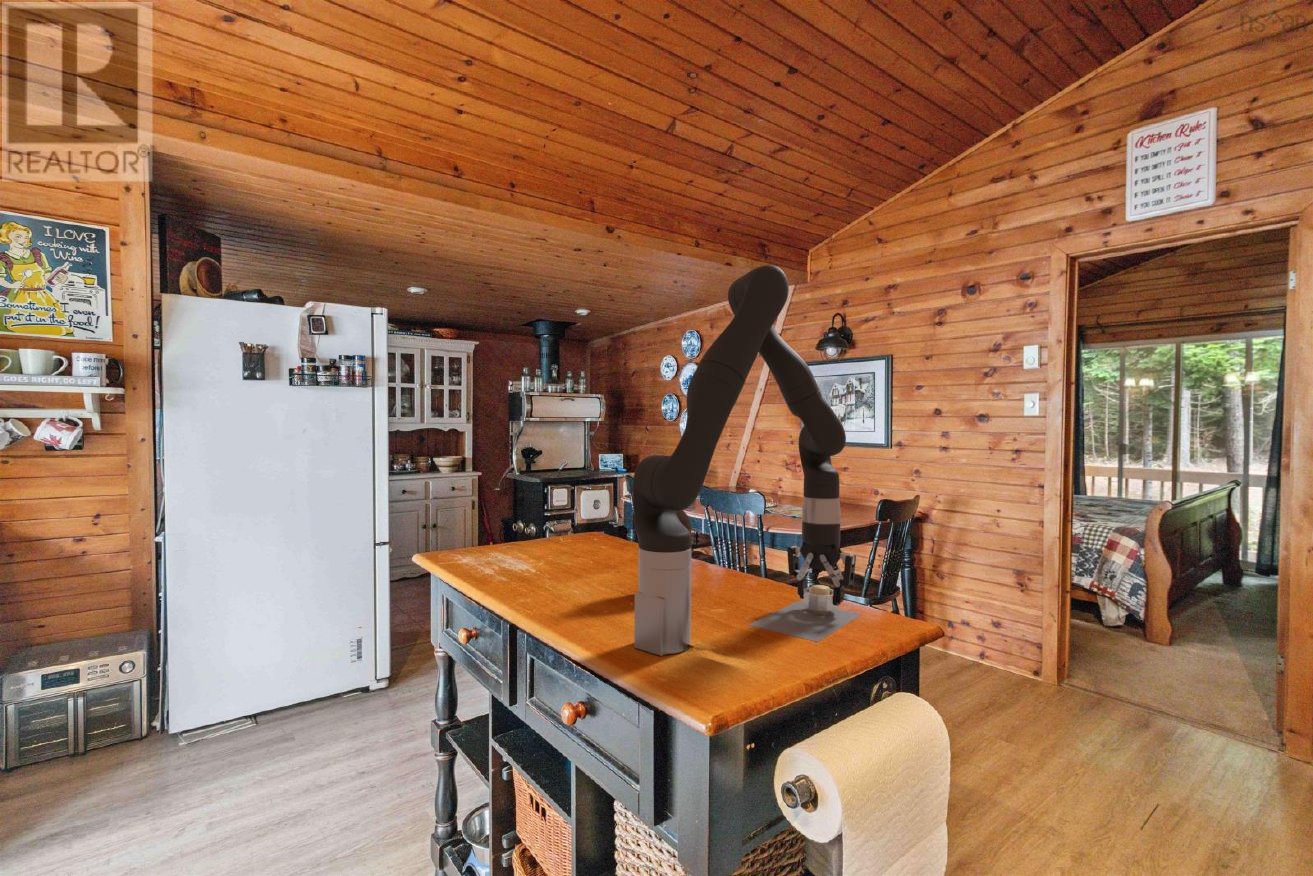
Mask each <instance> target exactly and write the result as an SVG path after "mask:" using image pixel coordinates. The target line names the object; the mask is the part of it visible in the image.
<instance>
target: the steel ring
mask: <svg viewBox="0 0 1313 876" xmlns="http://www.w3.org/2000/svg"><path fill="white" fill-rule="evenodd" d="M802 601H803V605H804V607H806V608H808V609H811V610H816V611H832V610H835V609H839V608H838V607H839V605H838V606H835V605H833V589H832V588H830V595H816V594H811V587H810V586H809V587H808V588H806V589H803V599H802Z"/></svg>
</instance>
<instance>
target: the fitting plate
mask: <svg viewBox="0 0 1313 876" xmlns="http://www.w3.org/2000/svg"><path fill="white" fill-rule="evenodd" d="M830 589H831V588H830V587H829V586H826V585H822V584H813V585H811V594H816V595H830ZM862 615H863V613H861V612H855V611H851V610H846V609H842V608H837V609H835V610H832V611H816V610H811V609H808V608H806V607H804V605H803V600H802V601H801V600H797V601H794V602H793V603H791V604H788V605H786V606H784V607H782V608H780V609H778V610H776V611H774V612H771V613H770V614H768V615H765V616H763V617H761V618H759V619H757V620H754V621H753V622H751V623H748V624H747V625H748V626H751V627H755V628H759V629H761V630H762V629H763V630H767V631H771V632H775V633H778V634H783V635H787V636H792V637H796V638H800V639H804V640H807V641H811V642H816V643H818V642H820V641H822V640H823V639H824V638H826V637H829V636H830V635H832V634H833V633H834V632H836V631H838V630H839V629H841V628H843V627H844V626H846V625H847V624H849V623H850V622H852V621H854V620H855V619H857V618H858V617H860V616H862Z"/></svg>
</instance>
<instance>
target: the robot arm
mask: <svg viewBox="0 0 1313 876" xmlns="http://www.w3.org/2000/svg"><path fill="white" fill-rule="evenodd" d="M789 286H790V285H789V281H788V278H787V275H786V274H785V271H783V270H782V269H781V268H780V267H778V266H776V265H774V264H773V265H772V264H764V265H760V266H758V267H755V268H753V269H751V270H750V271H748V272H746V273H745V274H744V275H741V276H740V277H738V278H737V279H736V280H734V281H733V282H732V283H731V284H730V287H729V288H728V292H727V300H728V301H727V302H728V305H729V308H730V309H731V310H730V311H731V312H732V314H733V315H734V316H733V318H732V320H731V321H730V322H729V324H728V325H727V326H726V327H725V328H724V330H723V331H721V333H720V334H719V335H718V336H717V338H716V339H714V341H713V342H712V344H710V346H709V347H708V349H707V350H706V352H705V353H704V355H703V356H702V358H701V359H700V360H699V362H698V365H697V366H696V369H695V371H694V373H693V375H692V377H691V379H690V381H689V383H688V386H687V390H686V413H687V414H686V425H685V428H684V431H683V433H682V435H681V438H680V439H679V442H678V444H677V445H676V448H674V451H673V452H672V453H671V455H664V454H663V455H660V454H657V455H656V454H654V455H648V456H646V457H645V458H643V459H642V460H640V462H638V465H637V466H636V468H635V471H634V474H633V479H632V508H633V509H632V510H633V525H634V527H633V528H634V530H635V533H636V535H637V540H638V586H637V587H638V592H635V593H634V633H633V634H634V642H633V643H634V648H635V649H638V650H641V651H644V652H648V653H650V654H654V655H658V656H661V657H662V656H665V655H669V654H679V653H682V652H684V651H687V650H688V649H690V647H691V635H692V634H691V630H692V628H691V627H692V623H691V622H692V621H691V619H692V618H691V617H692V612H691V611H692V532H691V533H690V531H689V530H688V529H687V528H686V527H685V526H684V525H683V524H682V523H681V522H680V521H679V519H678V517H677V514H676V510H683V511H684V510H686V509H688V508H689V507H691V506H692V505H693V504H694V502H695V501H696V500H697V498H698V497H699V494H700V492H701V491H702V488H703V485H704V484H705V480H706V477H707V475H708V474H707V473H708V471H709V468H710V465H711V462H712V459H713V456H714V454H715V451H716V448H717V445H718V443H719V440H720V437H721V436H722V433H723V431H724V430H725V429H724V428H725V426H726V424H727V421H728V419H729V417H730V414H732V410H733V409H734V406H735V405H736V403H737V400H738V399H739V396H740V395H741V392H742V390H743V388H744V386H745V384H746V380H747V378H748V376H749V374H750V372H751V369H752V367H753V365H754V363H755V361H756V359H757V356H758V354H759V355H760V357H761V358H762V359H763V361H764V362H765V364H766V365H767V367H768V370H769V371H770V372H771V374H772V376H773V378H774V380H775V382H776V384H777V386H778V388H779V390H780V392H781V395H782V397H783V399H784V401H785V404H786V405H787V408H788V410H789V411H790V413H791V414H792V415H794V417H796V418H798V419H800V421H801V423H803V426H802V428H801V429H800V432H799V436H798V451H799V453H798V454H799V459H800V463H801V467H802V468H801V469H802V472H803V498H802V507H801V543H802V544H801V546H798V545H792V546H788V547H787V549H786V550H787V567H788V568H787V570H788V575H789V576H791V577H794V578H796V580H797V594H798V596H799V599H802V600H803V589H806V588H809V587H808V586H809V581H808V579H807V578H808V577H809V574H810V572H811V571H813V570H820V571H823V572H826V573H827V576H829V578H831V581H832V583H833V585H834V586H833V605H835V606H838V607H839V606H840V605H841V603H843V602H844V598H845V597H844V593H845V592H844V591H845V590H844V587H845V586H846V587H848V586H849V585H851V584H853V583H854V581H855V573H856V572H855V571H856V561H857V555H856V554H854V553H849V554H848V553H845V552H842V550H841V546H840V545H841V520H842V515H841V509H842V508H841V502H840V473H839V472H838V470H837V469H835V467H834V466H833V464H832V458H831V457H834V456H836V455H838V454H840V453H841V452H842V451H843V450H844V448H845V446H846V441H847V437H846V430H845V428H844V425H843V424H842V422H841V420H840V418H839V417H838V415H837V414H836V413H835V412H834V409H832V407H831V406H830V405H829V403H828V402H827V401H826V400H825V398H824V397H823V395H822V392H821V390H820V387H819V385H818V383H817V380H816V379H815V376H814V374H813V372H812V370H811V368H810V367H809V365H808V363H807V362H806V361H805V360H804V359H803V357H801V356H800V355H799V354H798V353H797V352H796V351H795V350H794V349H793V348H792V347H791V346H790V345H788V343H787V342H786V341H785V340H784V339H783V338H782V337H781V336H780V334H779V333H778V331H777V329H776V327H775V325H774V323H775V322H776V320H777V318H778V317H779V315H780V314H781V313H782V310H783V309H784V307H785V305H786V303H787V301H788V297H789V290H790V289H789ZM801 556H802V557H803V559H804V561H803V563H802V564H801V566H800V561H799V557H801ZM840 560H842V565H844V570H843V574H842V569H841V567H840V566H839V564H838V562H839V561H840Z"/></svg>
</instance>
